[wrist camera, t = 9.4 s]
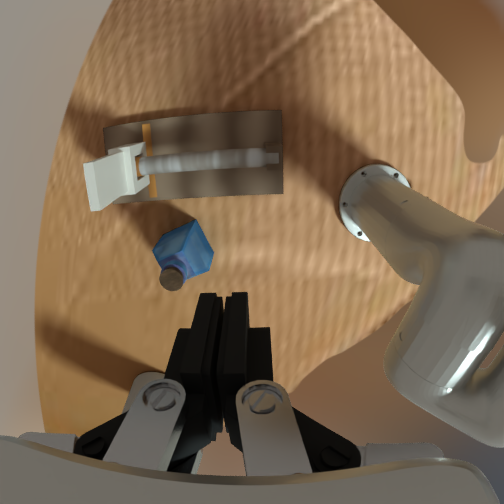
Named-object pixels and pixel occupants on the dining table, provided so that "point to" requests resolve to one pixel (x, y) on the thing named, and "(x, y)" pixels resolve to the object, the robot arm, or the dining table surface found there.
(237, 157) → the pipe stand
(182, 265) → the perfume bottle
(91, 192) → the white l-shaped bracket
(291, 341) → the dining table surface
